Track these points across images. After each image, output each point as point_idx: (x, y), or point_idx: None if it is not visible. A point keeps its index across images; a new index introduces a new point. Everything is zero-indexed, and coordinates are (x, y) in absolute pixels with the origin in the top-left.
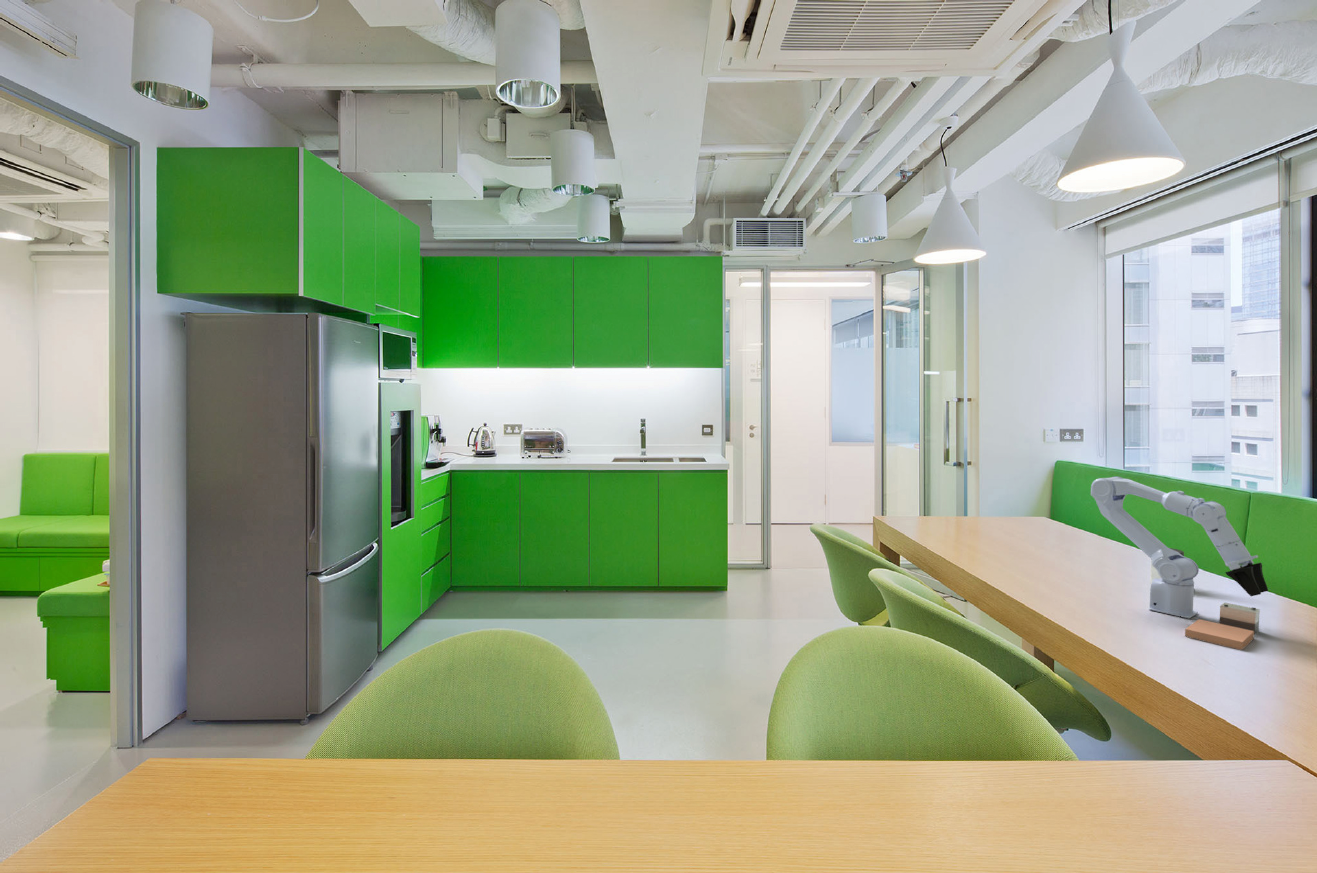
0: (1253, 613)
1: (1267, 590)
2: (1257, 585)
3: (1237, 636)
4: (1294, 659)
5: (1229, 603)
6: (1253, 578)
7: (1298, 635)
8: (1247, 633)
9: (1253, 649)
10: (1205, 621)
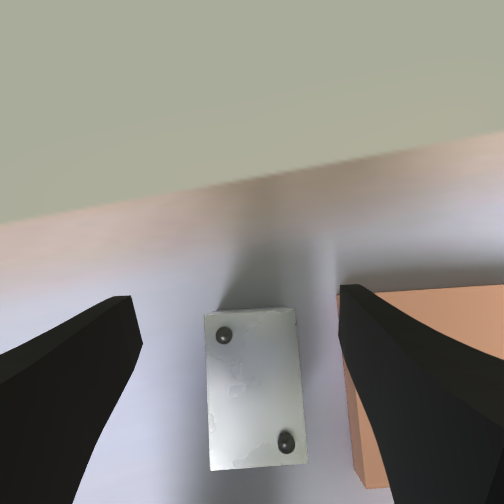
0: (295, 317)
1: (130, 296)
2: (380, 307)
3: (478, 313)
4: (450, 167)
5: (211, 447)
6: (463, 344)
7: (151, 216)
8: (402, 301)
9: (462, 264)
10: (376, 458)
